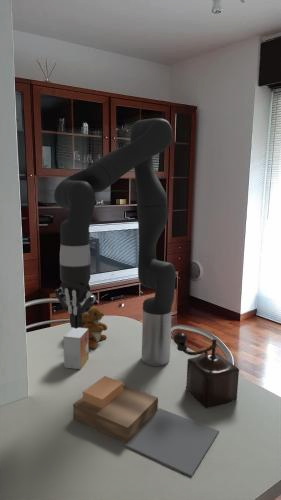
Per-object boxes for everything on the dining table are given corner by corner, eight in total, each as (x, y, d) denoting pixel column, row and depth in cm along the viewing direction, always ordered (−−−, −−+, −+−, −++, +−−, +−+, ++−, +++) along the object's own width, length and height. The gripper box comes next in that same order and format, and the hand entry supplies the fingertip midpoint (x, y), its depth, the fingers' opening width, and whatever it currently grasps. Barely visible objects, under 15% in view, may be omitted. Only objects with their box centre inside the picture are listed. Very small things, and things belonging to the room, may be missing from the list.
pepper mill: (213, 380, 111) (217, 323, 107) (238, 400, 101) (242, 338, 97) (168, 391, 104) (170, 331, 101) (189, 414, 94) (192, 348, 91)
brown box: (107, 392, 103) (107, 378, 102) (157, 411, 95) (158, 397, 94) (73, 418, 91) (73, 404, 91) (127, 443, 83) (127, 427, 83)
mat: (159, 409, 96) (159, 408, 96) (218, 432, 88) (218, 430, 88) (125, 446, 83) (125, 444, 82) (191, 477, 74) (191, 475, 74)
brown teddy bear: (96, 350, 128) (96, 314, 126) (63, 342, 134) (62, 307, 132) (111, 339, 137) (111, 305, 135) (79, 332, 143) (79, 299, 140)
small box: (80, 370, 115) (80, 338, 113) (63, 368, 116) (62, 336, 114) (89, 358, 122) (89, 328, 120) (73, 356, 124) (72, 326, 122)
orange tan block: (104, 384, 100) (104, 375, 99) (123, 390, 97) (123, 382, 96) (82, 400, 92) (82, 391, 92) (102, 408, 89) (102, 399, 89)
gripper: (105, 262, 93) (105, 328, 96) (65, 256, 99) (66, 317, 103) (86, 268, 86) (86, 338, 90) (45, 260, 93) (46, 326, 96)
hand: (75, 327), depth 96 cm, fingers closed
